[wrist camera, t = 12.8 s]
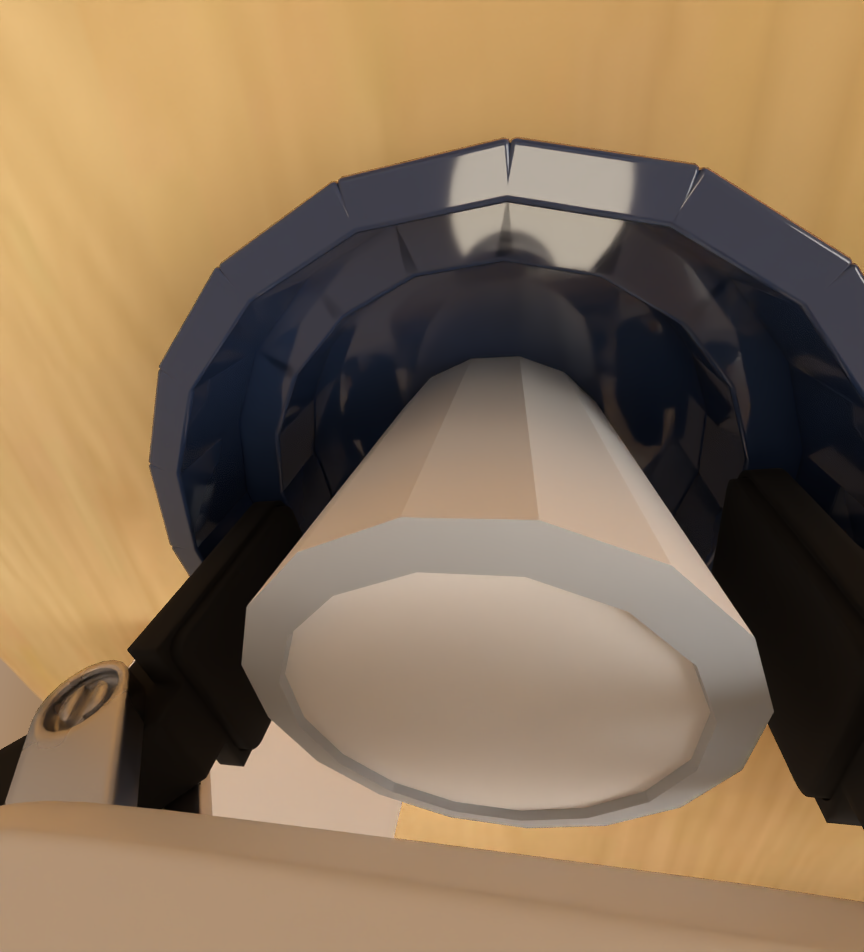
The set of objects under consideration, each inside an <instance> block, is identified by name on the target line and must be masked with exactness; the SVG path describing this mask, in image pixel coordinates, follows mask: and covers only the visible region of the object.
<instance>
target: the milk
mask: <svg viewBox="0 0 864 952" xmlns="http://www.w3.org/2000/svg"><path fill="white" fill-rule="evenodd" d="M134 662H135V659H134V660H133V662H132V663H131V664H130V666H131V665H132V664H133V663H134ZM130 666H129V667H128V668H130ZM210 778H211V796H212V813H213V816H220V817H228V818H236V819H244V820H252V821H260V822H269V823H277V824H285V825H293V826H301V827H310V828H318V829H325V830H333V831H341V832H349V833H357V834H365V835H373V836H381V837H388V838H394V835H395V830H396V826H397V822H398V817H399V813H400V809H401V804H402V802H401V801H398V800H395V799H392V798H389V797H386V796H382V795H379V794H377V793H376V792H374V791H372V790H370V789H368V788H366V787H364V786H363V785H361V784H359V783H357V782H355V781H353V780H351V779H349V778H348V777H346V776H344V775H342V774H340V773H338V772H336V771H335V770H333V769H331V768H329V767H327V766H325V765H323V764H322V763H320V762H318V761H316V760H315V759H314V758H313V757H312V756H311V755H310V754H309V753H308V752H306V751H305V750H304V749H303V748H302V747H301V746H300V745H299V744H297V743H296V742H295V741H294V740H293V739H292V738H291V737H290V736H289V735H287V734H286V733H285V732H284V731H283V730H282V729H281V728H280V727H279V726H277V725H276V724H275V723H274V722H273V721H271V723H270V725H269V727H268V729H267V731H266V733H265V735H264V738H263V740H262V741H261V743H260V745H259V746H258V747H257V748H255V749H252V751H251V753H250V755H249V757H248V759H247V762H246V764H245V766H244V767H242V766H231V765H221V764H219V763H218V761H217V760H216V761H215V763H214V765H213V766H212V768H211V770H210Z"/></svg>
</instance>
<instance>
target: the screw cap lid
mask: <svg viewBox="0 0 864 952" xmlns="http://www.w3.org/2000/svg"><path fill="white" fill-rule="evenodd" d="M515 356H520V357H523V358H526V359H528V360H531V361H534V362H537V363H540V364H542V365H545V366H548V367H551V368H554V369H557V370H559V371H562V372H564V373H566V374H567V375H568V376H569V377H570V378H571V379H572V380H573V381H574V382H575V383H576V384H577V385H578V386H579V387H580V388H581V389H582V390H583V391H584V392H586V393H587V394H588V395H589V396H590V397H591V398H592V399H593V400H594V401H595V402H596V403H597V405H598V406H599V407H600V409H601V410H602V412H603V413H604V415H605V416H606V418H607V419H608V421H609V422H610V424H611V425H612V427H613V428H614V430H615V431H616V433H617V434H618V436H619V437H620V439H621V440H622V442H623V443H624V445H625V446H626V447H627V449H628V450H629V452H630V453H631V455H632V456H633V458H634V459H635V461H636V462H637V464H638V465H639V467H640V468H641V470H642V471H643V473H644V474H645V476H646V477H647V479H648V480H649V482H650V483H651V485H652V486H653V488H654V489H655V490H656V492H657V493H658V495H659V496H660V498H661V499H662V501H663V502H664V504H665V505H666V507H667V508H668V510H669V511H670V513H671V514H672V516H673V517H674V519H675V520H676V522H677V523H678V525H679V526H680V528H681V529H682V531H683V532H684V533H685V535H686V536H687V538H688V539H689V541H690V542H691V544H692V545H693V547H694V548H695V550H696V551H697V553H698V554H699V556H700V557H701V559H702V560H703V562H704V563H705V565H706V566H707V568H708V569H709V571H710V572H712V567H713V561H714V556H715V550H716V545H717V539H718V533H719V528H720V522H721V517H722V511H723V506H724V500H725V494H726V489H727V485H728V482H729V480H731V479H738V476H739V474H740V473H741V472H742V471H744V470H755V469H770V468H782V469H784V470H785V471H787V472H788V474H789V475H790V476H791V477H792V478H793V479H794V480H795V481H796V482H797V483H798V484H799V485H800V486H801V487H802V488H803V489H804V490H805V491H806V492H807V493H808V494H809V495H810V496H811V497H812V498H813V499H814V501H815V502H816V503H817V504H818V505H819V506H820V507H821V508H822V509H823V510H824V511H825V512H826V513H827V514H828V515H829V516H830V517H831V518H832V519H833V520H834V521H835V522H836V523H837V524H838V525H839V526H840V528H841V529H842V530H843V531H844V532H845V533H846V534H847V535H848V536H849V537H850V538H851V539H852V540H853V541H854V542H855V543H856V544H857V545H859V546H860V547H861V548H862V549H864V275H863V273H862V272H861V270H860V268H859V266H858V265H857V264H855V263H852V260H851V258H850V257H849V256H847V255H845V254H844V253H842V252H841V251H839V250H838V249H836V248H834V247H833V246H831V245H830V244H828V243H826V242H825V241H823V240H822V239H820V238H818V237H817V236H815V235H814V234H812V233H811V232H809V231H807V230H806V229H804V228H803V227H801V226H799V225H798V224H796V223H795V222H793V221H792V220H790V219H788V218H787V217H785V216H784V215H782V214H780V213H779V212H777V211H776V210H774V209H772V208H771V207H769V206H768V205H766V204H765V203H763V202H761V201H760V200H758V199H757V198H755V197H753V196H752V195H750V194H749V193H747V192H746V191H744V190H742V189H741V188H739V187H738V186H736V185H734V184H733V183H731V182H730V181H728V180H727V179H725V178H723V177H722V176H720V175H719V174H717V173H715V172H714V171H712V170H711V169H709V168H705V167H702V168H699V166H698V165H696V164H695V163H689V162H682V161H675V160H669V159H662V158H655V157H649V156H642V155H635V154H628V153H622V152H615V151H608V150H602V149H595V148H588V147H582V146H575V145H568V144H561V143H555V142H548V141H541V140H535V139H528V138H521V137H515V138H513V139H511V141H509V139H507V138H499V139H495V140H491V141H487V142H483V143H479V144H474V145H470V146H466V147H462V148H458V149H454V150H450V151H446V152H441V153H437V154H433V155H429V156H425V157H421V158H417V159H413V160H408V161H404V162H400V163H396V164H392V165H388V166H384V167H379V168H375V169H371V170H367V171H363V172H359V173H355V174H351V175H346V176H342V177H341V178H340V179H339V180H338V181H333V182H330V183H329V184H327V185H326V186H324V187H323V188H322V189H320V190H319V191H318V192H316V193H315V194H314V195H312V196H311V197H309V198H308V199H307V200H305V201H304V202H303V203H301V204H300V205H299V206H297V207H296V208H294V209H293V210H292V211H290V212H289V213H288V214H286V215H285V216H284V217H282V218H281V219H280V220H278V221H277V222H275V223H274V224H273V225H271V226H270V227H269V228H267V229H266V230H265V231H263V232H262V233H260V234H259V235H258V236H256V237H255V238H254V239H252V240H251V241H250V242H248V243H247V244H245V245H244V246H243V247H241V248H240V249H239V250H237V251H236V252H235V253H233V254H232V255H230V256H229V257H228V258H226V259H225V260H224V261H222V262H221V264H220V265H219V267H216V268H215V269H214V270H213V272H212V274H211V276H210V277H209V279H208V281H207V283H206V284H205V286H204V288H203V290H202V291H201V293H200V295H199V297H198V298H197V300H196V302H195V304H194V305H193V307H192V309H191V311H190V312H189V314H188V316H187V318H186V319H185V321H184V323H183V325H182V326H181V328H180V330H179V332H178V333H177V335H176V337H175V339H174V340H173V342H172V344H171V346H170V348H169V349H168V351H167V353H166V355H165V356H164V358H163V360H162V362H161V363H160V365H159V368H160V370H159V372H158V379H157V388H156V398H155V407H154V417H153V426H152V436H151V445H150V455H149V463H150V465H149V468H150V472H151V476H152V479H153V483H154V487H155V491H156V494H157V498H158V502H159V506H160V509H161V513H162V517H163V520H164V524H165V528H166V532H167V535H168V539H169V543H170V545H171V546H172V549H173V551H174V552H175V554H176V556H177V557H178V559H179V560H180V562H181V564H182V565H183V567H184V568H185V570H186V571H187V573H188V575H189V576H191V575H192V574H193V572H194V571H195V570H196V569H197V568H198V567H199V566H200V564H201V563H202V562H203V561H204V560H205V559H206V557H207V556H208V555H209V554H210V553H211V552H212V550H213V549H214V548H215V547H216V546H217V545H218V543H219V542H220V541H221V540H222V539H223V538H224V536H225V535H226V534H227V533H228V532H229V531H230V529H231V528H232V527H233V526H234V525H235V524H236V522H237V521H238V520H239V519H240V518H241V517H242V516H243V514H244V513H245V512H246V511H247V510H248V509H249V507H250V506H251V505H252V504H253V503H255V502H261V501H277V500H279V501H282V502H283V503H284V504H285V505H286V506H288V507H290V508H291V509H292V511H293V513H294V515H295V517H296V520H297V522H298V524H299V527H300V529H301V532H302V534H303V535H304V533H305V532H306V531H307V530H308V528H309V527H310V526H311V525H312V523H313V522H314V521H315V520H316V518H317V517H318V516H319V515H320V513H321V512H322V511H323V509H324V508H325V507H326V506H327V504H328V503H329V502H330V501H331V499H332V498H333V497H334V496H335V494H336V493H337V492H338V490H339V489H340V488H341V487H342V485H343V484H344V483H345V482H346V480H347V479H348V478H349V477H350V475H351V474H352V473H353V472H354V470H355V469H356V468H357V466H358V465H359V464H360V463H361V461H362V460H363V459H364V458H365V456H366V455H367V454H368V453H369V451H370V450H371V449H372V447H373V446H374V445H375V444H376V442H377V441H378V440H379V439H380V437H381V436H382V435H383V434H384V432H385V431H386V430H387V429H388V427H389V426H390V425H391V423H392V422H393V421H394V420H395V418H396V417H397V416H398V415H399V413H400V412H401V411H402V410H403V408H404V407H405V406H406V405H407V404H408V403H409V401H410V400H411V399H412V398H413V397H414V396H415V395H416V394H417V392H418V391H419V390H420V389H421V388H422V387H423V386H424V385H425V383H426V382H427V381H428V380H429V379H430V378H431V377H433V376H435V375H437V374H439V373H441V372H444V371H446V370H448V369H450V368H452V367H454V366H457V365H459V364H461V363H463V362H465V361H467V360H469V359H472V358H493V357H515Z"/></svg>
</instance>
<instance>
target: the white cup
mask: <svg viewBox="0 0 864 952" xmlns="http://www.w3.org/2000/svg"><path fill="white" fill-rule="evenodd" d="M241 665H242V667H243V669H244V671H245V673H246V675H247V677H248V679H249V681H250V683H251V684H252V686H253V688H254V690H255V692H256V694H257V696H258V698H259V700H260V702H261V704H262V706H263V708H264V710H265V712H266V713H267V715H268V717H269V718H270V719H271V720H272V721H273V722H274V723H275V724H276V725H277V726H279V727H280V728H281V729H282V730H283V731H284V732H285V733H286V734H287V735H289V736H290V737H291V738H292V739H293V740H294V741H295V742H296V743H297V744H299V745H300V746H301V747H302V748H303V749H304V750H305V751H306V752H308V753H309V754H310V755H311V756H312V757H313V758H314V759H315V760H316V761H318V762H320V763H322V764H323V765H325V766H327V767H329V768H331V769H333V770H335V771H336V772H338V773H340V774H342V775H344V776H346V777H348V778H349V779H351V780H353V781H355V782H357V783H359V784H361V785H363V786H364V787H366V788H368V789H370V790H372V791H374V792H376V793H377V794H379V795H382V796H386V797H389V798H392V799H395V800H398V801H401V802H404V803H408V804H411V805H414V806H417V807H420V808H423V809H426V810H430V811H433V812H436V813H439V814H442V815H445V816H448V817H453V818H460V819H467V820H474V821H481V822H488V823H495V824H502V825H509V826H516V827H523V828H548V827H582V826H607V825H611V824H615V823H619V822H623V821H627V820H631V819H635V818H639V817H644V816H648V815H652V814H656V813H660V812H664V811H668V810H672V809H676V808H680V807H682V806H684V805H685V804H687V803H689V802H690V801H692V800H694V799H695V798H697V797H699V796H700V795H702V794H703V793H705V792H707V791H708V790H710V789H712V788H713V787H715V786H717V785H718V784H720V783H721V782H723V781H725V780H726V779H728V778H730V777H731V776H733V775H735V774H736V773H738V772H739V771H741V770H742V769H743V767H744V766H745V764H746V762H747V760H748V758H749V756H750V755H751V753H752V751H753V749H754V747H755V745H756V744H757V742H758V740H759V738H760V736H761V734H762V733H763V731H764V729H765V727H766V725H767V724H768V722H769V720H770V718H771V716H772V714H773V713H774V710H773V706H772V702H771V698H770V694H769V690H768V687H767V683H766V679H765V675H764V671H763V667H762V663H761V659H760V655H759V652H758V648H757V644H756V640H755V637H754V636H753V634H752V633H751V631H750V630H749V628H748V627H747V625H746V624H745V622H744V621H743V619H742V618H741V616H740V615H739V614H738V612H737V611H736V609H735V608H734V606H733V605H732V603H731V602H730V600H729V599H728V597H727V596H726V594H725V593H724V591H723V590H722V588H721V587H720V585H719V584H718V582H717V581H716V579H715V578H714V576H713V575H712V573H711V572H710V571H709V569H708V568H707V566H706V565H705V563H704V562H703V560H702V559H701V557H700V556H699V554H698V553H697V551H696V550H695V548H694V547H693V545H692V544H691V542H690V541H689V539H688V538H687V536H686V535H685V533H684V532H683V531H682V529H681V528H680V526H679V525H678V523H677V522H676V520H675V519H674V517H673V516H672V514H671V513H670V511H669V510H668V508H667V507H666V505H665V504H664V502H663V501H662V499H661V498H660V496H659V495H658V493H657V492H656V490H655V489H654V488H653V486H652V485H651V483H650V482H649V480H648V479H647V477H646V476H645V474H644V473H643V471H642V470H641V468H640V467H639V465H638V464H637V462H636V461H635V459H634V458H633V456H632V455H631V453H630V452H629V450H628V449H627V447H626V446H625V445H624V443H623V442H622V440H621V439H620V437H619V436H618V434H617V433H616V431H615V430H614V428H613V427H612V425H611V424H610V422H609V421H608V419H607V418H606V416H605V415H604V413H603V412H602V410H601V409H600V407H599V406H598V405H597V403H596V402H595V401H594V400H593V399H592V398H591V397H590V396H589V395H588V394H587V393H586V392H584V391H583V390H582V389H581V388H580V387H579V386H578V385H577V384H576V383H575V382H574V381H573V380H572V379H571V378H570V377H569V376H568V375H567V374H566V373H564V372H562V371H559V370H557V369H554V368H551V367H548V366H545V365H542V364H540V363H537V362H534V361H531V360H528V359H526V358H523V357H520V356H515V357H493V358H472V359H469V360H467V361H465V362H463V363H461V364H459V365H457V366H454V367H452V368H450V369H448V370H446V371H444V372H441V373H439V374H437V375H435V376H433V377H431V378H430V379H429V380H428V381H427V382H426V383H425V385H424V386H423V387H422V388H421V389H420V390H419V391H418V392H417V394H416V395H415V396H414V397H413V398H412V399H411V400H410V401H409V403H408V404H407V405H406V406H405V407H404V408H403V410H402V411H401V412H400V413H399V415H398V416H397V417H396V418H395V420H394V421H393V422H392V423H391V425H390V426H389V427H388V429H387V430H386V431H385V432H384V434H383V435H382V436H381V437H380V439H379V440H378V441H377V442H376V444H375V445H374V446H373V447H372V449H371V450H370V451H369V453H368V454H367V455H366V456H365V458H364V459H363V460H362V461H361V463H360V464H359V465H358V466H357V468H356V469H355V470H354V472H353V473H352V474H351V475H350V477H349V478H348V479H347V480H346V482H345V483H344V484H343V485H342V487H341V488H340V489H339V490H338V492H337V493H336V494H335V496H334V497H333V498H332V499H331V501H330V502H329V503H328V504H327V506H326V507H325V508H324V509H323V511H322V512H321V513H320V515H319V516H318V517H317V518H316V520H315V521H314V522H313V523H312V525H311V526H310V527H309V528H308V530H307V531H306V532H305V533H304V535H303V536H302V537H301V539H300V540H299V541H298V542H297V544H296V545H295V546H294V547H293V549H292V550H291V551H290V552H289V554H288V555H287V556H286V558H285V559H284V560H283V561H282V563H281V564H280V565H279V566H278V568H277V569H276V570H275V571H274V573H273V574H272V575H271V577H270V578H269V579H268V580H267V582H266V583H265V584H264V585H263V587H262V588H261V589H260V590H259V592H258V593H257V594H256V595H255V597H254V598H253V599H252V601H251V602H250V603H249V604H248V606H247V608H246V619H245V630H244V641H243V652H242V663H241Z"/></svg>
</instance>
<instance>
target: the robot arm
mask: <svg viewBox="0 0 864 952" xmlns="http://www.w3.org/2000/svg"><path fill="white" fill-rule="evenodd" d="M302 536H303V534H302V532H301V529H300V527H299V524H298V522H297V520H296V517H295V515H294V513H293V511H292V509H291V508H290V507H288V506H286V505H285V504H284V503H283V502H282V501H279V500H277V501H261V502H255V503H253V504H252V505H251V506H250V507H249V509H248V510H247V511H246V512H245V513H244V514H243V516H242V517H241V518H240V519H239V520H238V521H237V522H236V524H235V525H234V526H233V527H232V528H231V529H230V531H229V532H228V533H227V534H226V535H225V536H224V538H223V539H222V540H221V541H220V542H219V543H218V545H217V546H216V547H215V548H214V549H213V550H212V552H211V553H210V554H209V555H208V556H207V557H206V559H205V560H204V561H203V562H202V563H201V564H200V566H199V567H198V568H197V569H196V570H195V571H194V572H193V574H192V575H191V576H190V577H189V578H188V579H187V581H186V582H185V583H184V584H183V585H182V586H181V588H180V589H179V590H178V591H177V592H176V593H175V595H174V596H173V597H172V598H171V599H170V600H169V602H168V603H167V604H166V605H165V606H164V607H163V609H162V610H161V611H160V612H159V613H158V614H157V616H156V617H155V618H154V619H153V620H152V621H151V622H150V624H149V625H148V626H147V627H146V628H145V629H144V631H143V632H142V633H141V634H140V635H139V636H138V638H137V639H136V640H135V641H134V642H133V643H132V645H131V646H130V647H129V648H128V649H127V650H128V652H129V653H130V654H131V655H132V657H133V658H134V659H135V662H134V663H133V664H132V665H131V666H130V668H128V667H127V666H126V665H125V664H124V663H123V662H120V661H116V660H110V661H103V662H100V663H97V664H94V665H91V666H89V667H87V668H85V669H83V670H81V671H80V672H78V673H76V674H74V675H73V676H71V677H70V678H69V679H67V680H66V681H65V682H63V683H62V684H60V685H59V686H58V687H57V688H56V689H55V690H54V691H53V692H52V693H51V694H50V695H49V696H48V697H47V698H46V699H45V701H44V702H43V703H42V705H41V706H40V707H39V708H38V710H37V712H36V714H35V716H34V718H33V720H32V722H31V725H30V728H29V731H28V734H27V735H26V736H24V737H22V738H20V739H18V740H17V741H15V742H13V743H12V744H10V745H8V746H6V747H4V748H3V749H1V750H0V952H864V902H860V901H854V900H847V899H840V898H834V897H827V896H820V895H814V894H807V893H800V892H794V891H787V890H780V889H774V888H767V887H760V886H754V885H747V884H739V883H732V882H724V881H717V880H709V879H702V878H694V877H687V876H679V875H672V874H664V873H657V872H649V871H642V870H634V869H627V868H619V867H611V866H604V865H596V864H589V863H581V862H574V861H566V860H559V859H551V858H544V857H536V856H529V855H521V854H513V853H505V852H498V851H490V850H482V849H474V848H467V847H459V846H451V845H443V844H435V843H428V842H420V841H412V840H404V839H396V838H388V837H381V836H373V835H365V834H357V833H349V832H341V831H333V830H325V829H318V828H310V827H301V826H293V825H285V824H277V823H269V822H260V821H252V820H244V819H236V818H228V817H220V816H213V813H212V796H211V778H210V770H211V768H212V766H213V765H214V763H215V761H216V760H217V761H218V763H219V764H221V765H231V766H242V767H244V766H245V764H246V762H247V759H248V757H249V755H250V753H251V751H252V749H255V748H257V747H258V746H259V745H260V743H261V741H262V740H263V738H264V735H265V733H266V731H267V729H268V727H269V725H270V723H271V721H272V720H271V719H270V718H269V717H268V715H267V713H266V712H265V710H264V708H263V706H262V704H261V702H260V700H259V698H258V696H257V694H256V692H255V690H254V688H253V686H252V684H251V683H250V681H249V679H248V677H247V675H246V673H245V671H244V669H243V667H242V665H241V663H242V652H243V641H244V630H245V619H246V608H247V606H248V604H249V603H250V602H251V601H252V599H253V598H254V597H255V595H256V594H257V593H258V592H259V590H260V589H261V588H262V587H263V585H264V584H265V583H266V582H267V580H268V579H269V578H270V577H271V575H272V574H273V573H274V571H275V570H276V569H277V568H278V566H279V565H280V564H281V563H282V561H283V560H284V559H285V558H286V556H287V555H288V554H289V552H290V551H291V550H292V549H293V547H294V546H295V545H296V544H297V542H298V541H299V540H300V539H301V537H302ZM711 573H712V575H713V576H714V578H715V579H716V581H717V582H718V584H719V585H720V587H721V588H722V590H723V591H724V593H725V594H726V596H727V597H728V599H729V600H730V602H731V603H732V605H733V606H734V608H735V609H736V611H737V612H738V614H739V615H740V616H741V618H742V619H743V621H744V622H745V624H746V625H747V627H748V628H749V630H750V631H751V633H752V634H753V636H754V637H755V640H756V644H757V648H758V652H759V655H760V659H761V663H762V667H763V671H764V675H765V679H766V683H767V687H768V690H769V694H770V698H771V702H772V706H773V710H774V713H773V714H772V716H771V718H770V720H769V722H768V725H769V727H770V729H771V732H772V734H773V736H774V738H775V740H776V742H777V744H778V746H779V749H780V751H781V753H782V755H783V757H784V759H785V761H786V763H787V766H788V768H789V770H790V772H791V774H792V776H793V778H794V781H795V782H796V784H797V786H798V788H799V789H800V791H801V792H802V793H803V794H804V795H805V796H807V797H815V799H816V801H817V804H818V806H819V808H820V810H821V812H822V814H823V816H824V818H825V820H826V822H827V823H836V824H847V825H857V826H862V827H863V829H864V549H862V548H861V547H860V546H859V545H857V544H856V543H855V542H854V541H853V540H852V539H851V538H850V537H849V536H848V535H847V534H846V533H845V532H844V531H843V530H842V529H841V528H840V526H839V525H838V524H837V523H836V522H835V521H834V520H833V519H832V518H831V517H830V516H829V515H828V514H827V513H826V512H825V511H824V510H823V509H822V508H821V507H820V506H819V505H818V504H817V503H816V502H815V501H814V499H813V498H812V497H811V496H810V495H809V494H808V493H807V492H806V491H805V490H804V489H803V488H802V487H801V486H800V485H799V484H798V483H797V482H796V481H795V480H794V479H793V478H792V477H791V476H790V475H789V474H788V472H787V471H785V470H784V469H782V468H770V469H755V470H744V471H742V472H741V473H740V474H739V476H738V479H731V480H729V482H728V485H727V489H726V494H725V500H724V506H723V511H722V517H721V522H720V528H719V533H718V539H717V545H716V550H715V556H714V561H713V567H712V572H711Z"/></svg>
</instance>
